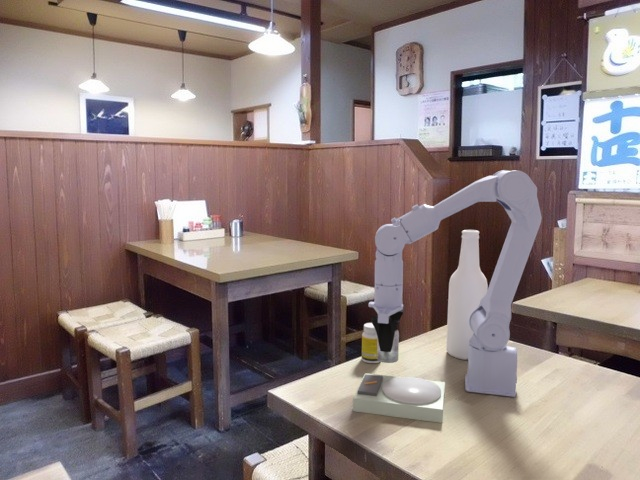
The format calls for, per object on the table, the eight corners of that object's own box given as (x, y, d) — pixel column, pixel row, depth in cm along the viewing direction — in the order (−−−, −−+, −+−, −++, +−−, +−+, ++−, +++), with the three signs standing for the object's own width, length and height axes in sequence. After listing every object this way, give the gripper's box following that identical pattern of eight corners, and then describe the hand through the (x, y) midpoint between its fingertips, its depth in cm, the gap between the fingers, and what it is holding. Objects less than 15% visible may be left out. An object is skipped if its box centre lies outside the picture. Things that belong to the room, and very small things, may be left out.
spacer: (399, 356, 108) (400, 328, 107) (396, 363, 104) (397, 335, 103) (378, 354, 109) (379, 327, 109) (375, 361, 105) (375, 333, 104)
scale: (444, 394, 101) (445, 378, 101) (442, 422, 90) (442, 405, 89) (364, 384, 106) (365, 369, 105) (352, 411, 94) (353, 394, 94)
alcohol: (483, 349, 126) (489, 229, 122) (484, 362, 118) (491, 233, 114) (446, 346, 129) (451, 227, 124) (445, 358, 120) (450, 232, 116)
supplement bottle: (380, 364, 116) (381, 329, 115) (360, 363, 117) (360, 327, 116) (382, 357, 121) (383, 322, 120) (362, 355, 122) (363, 321, 121)
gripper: (375, 274, 112) (374, 334, 114) (362, 290, 99) (361, 357, 100) (407, 276, 111) (406, 337, 112) (399, 292, 97) (397, 361, 99)
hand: (387, 347), depth 106 cm, fingers closed on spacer, 4 cm apart
